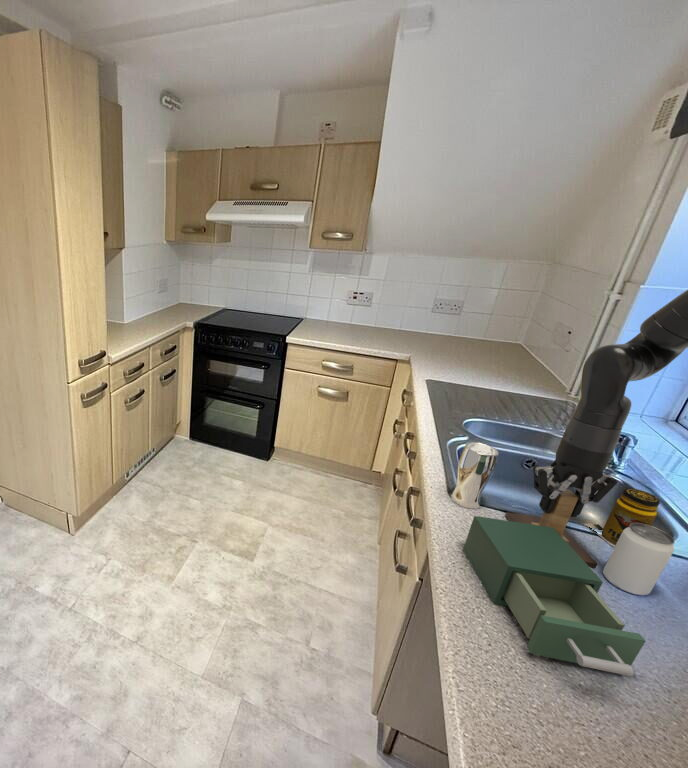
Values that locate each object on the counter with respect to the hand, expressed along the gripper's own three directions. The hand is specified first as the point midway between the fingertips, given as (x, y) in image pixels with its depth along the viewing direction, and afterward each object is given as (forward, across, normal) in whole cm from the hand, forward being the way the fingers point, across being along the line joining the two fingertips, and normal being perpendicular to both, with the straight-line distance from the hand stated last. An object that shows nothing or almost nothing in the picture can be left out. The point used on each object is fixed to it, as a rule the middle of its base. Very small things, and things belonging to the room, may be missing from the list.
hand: (557, 512), depth 88 cm
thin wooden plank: (+7, 0, 0) cm, 7 cm away
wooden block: (+6, 0, 0) cm, 6 cm away
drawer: (+6, -12, -28) cm, 31 cm away
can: (+7, +8, -10) cm, 15 cm away
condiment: (+7, +16, +5) cm, 18 cm away
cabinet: (+7, -12, -15) cm, 21 cm away
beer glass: (+8, -12, +11) cm, 18 cm away
